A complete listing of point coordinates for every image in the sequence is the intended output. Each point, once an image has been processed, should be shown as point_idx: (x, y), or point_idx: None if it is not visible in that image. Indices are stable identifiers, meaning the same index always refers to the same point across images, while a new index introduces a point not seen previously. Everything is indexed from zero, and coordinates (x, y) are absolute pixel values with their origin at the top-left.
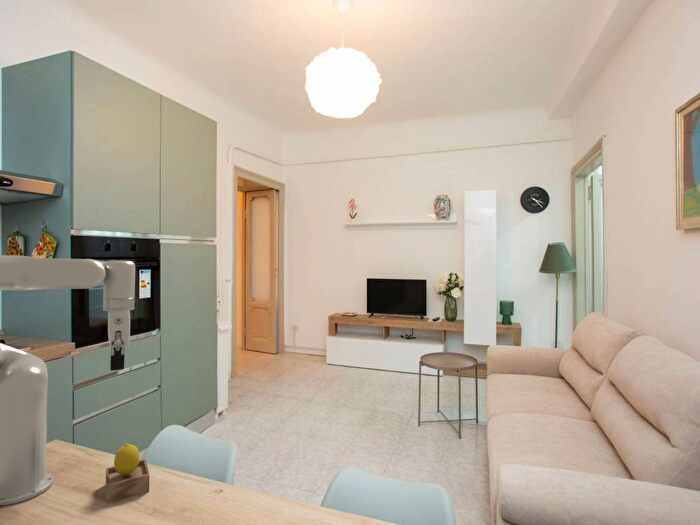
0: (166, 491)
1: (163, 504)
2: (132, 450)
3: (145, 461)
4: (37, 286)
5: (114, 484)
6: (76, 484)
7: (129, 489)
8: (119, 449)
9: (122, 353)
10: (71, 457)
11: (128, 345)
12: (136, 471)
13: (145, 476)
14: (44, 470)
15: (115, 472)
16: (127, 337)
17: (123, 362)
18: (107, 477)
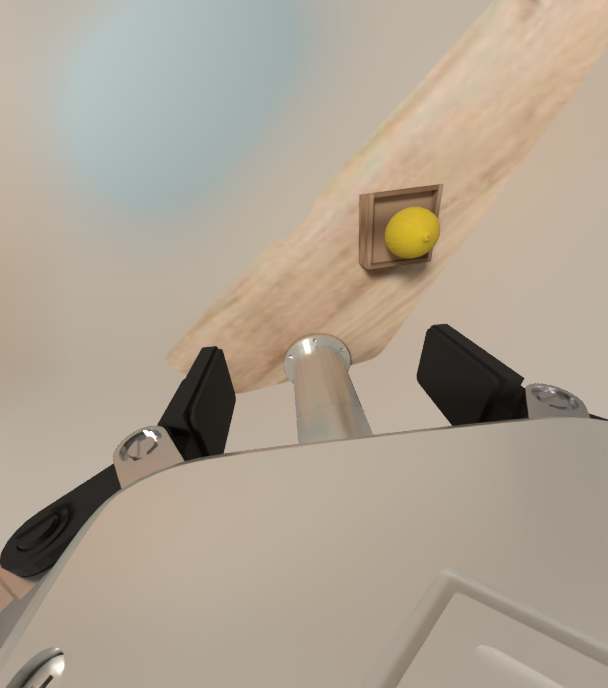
0: (446, 150)
1: (482, 158)
2: (437, 223)
3: (381, 193)
4: None
5: (431, 249)
6: (334, 304)
7: None
8: (419, 252)
9: (568, 400)
10: (235, 327)
11: (579, 418)
12: (390, 212)
13: (441, 192)
14: (325, 353)
15: (372, 251)
16: None
17: (471, 346)
18: (403, 263)
